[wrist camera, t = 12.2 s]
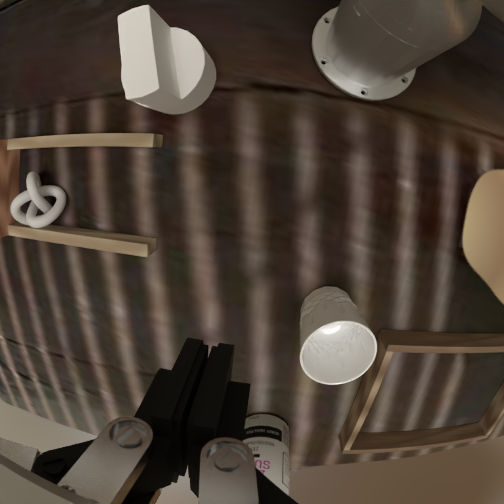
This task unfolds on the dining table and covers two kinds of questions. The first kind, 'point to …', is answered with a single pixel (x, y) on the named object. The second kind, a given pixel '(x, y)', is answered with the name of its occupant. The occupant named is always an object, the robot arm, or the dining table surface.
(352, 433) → the serving tray rim
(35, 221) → the knot
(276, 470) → the supplement can
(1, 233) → the guide channel
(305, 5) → the dining table surface
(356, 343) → the white cup
